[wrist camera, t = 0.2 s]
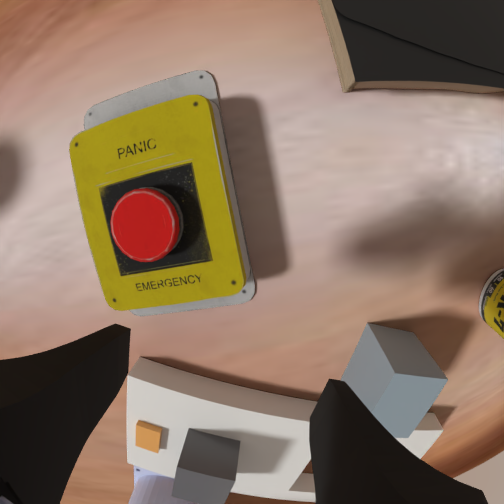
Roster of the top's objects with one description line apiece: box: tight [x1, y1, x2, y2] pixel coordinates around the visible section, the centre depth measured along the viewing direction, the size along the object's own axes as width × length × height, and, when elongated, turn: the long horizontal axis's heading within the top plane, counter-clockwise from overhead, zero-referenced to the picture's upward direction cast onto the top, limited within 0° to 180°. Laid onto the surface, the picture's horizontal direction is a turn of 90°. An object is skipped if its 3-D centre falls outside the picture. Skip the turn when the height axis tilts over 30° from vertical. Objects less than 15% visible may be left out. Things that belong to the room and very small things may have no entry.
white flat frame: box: [127, 357, 444, 502], centre depth 22 cm, size 12×26×3 cm, turn 75°
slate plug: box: [341, 323, 448, 438], centre depth 18 cm, size 5×4×6 cm
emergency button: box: [69, 71, 255, 316], centre depth 17 cm, size 9×4×15 cm
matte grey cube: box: [171, 428, 241, 504], centre depth 19 cm, size 5×4×4 cm
